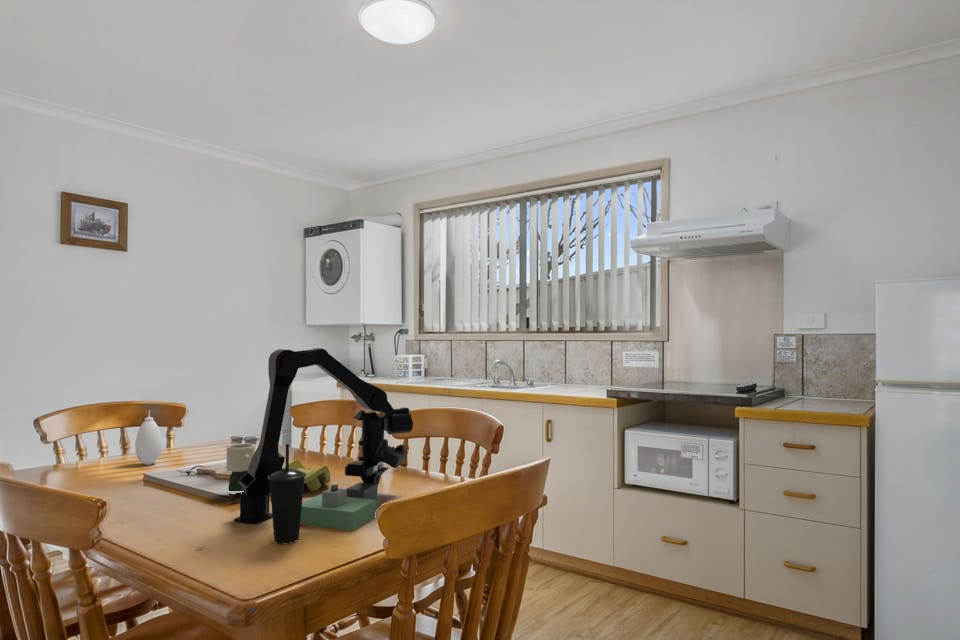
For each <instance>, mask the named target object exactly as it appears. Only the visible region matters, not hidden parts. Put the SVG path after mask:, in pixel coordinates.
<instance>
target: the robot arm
mask: <svg viewBox="0 0 960 640" xmlns="http://www.w3.org/2000/svg"><path fill="white" fill-rule="evenodd" d="M267 364H268V366H267V367H268V379H269V381H268V382H269V389H268V390H269V391H268V395H267V400H266V401H267V402H266V406H265V413H264V417H263V421H262V422H263V423H262V428H261V433H260V437H259V438H260V440H259V443H258V446H257V448H255V453H254V455H253V457H252V460H251V462H250V465H249V468H248V472H247V473H246V474H245V475H244V476H243V477H242V478H241V479H240V480H239V481H238V484H239V487H240V489H241V490H242V491H244V492H242V494H239V516H237V517H236V518H234V519H233V520H234V522H240V523H241V522H242V523H249V524H259V523H262V522H264V521H266V520H268V519H272V518H273V517H272V512H270V495H271V494H270V482H269V479H268V475H270V474H272V473H274V472H275V471H278V470H280V469H282V468H283V467H284V463H285V462H286V456H284V455H282V454H280V451H279V444H280V438H281V432H282V427H283V423H284V422H283V421H284V416H285V411H286V407H287V406H286V405H287V399H288V395H289V390H290V387H291V385H292V383H293V381H294V380H295V377H296V375H297V373H298V370H299V369H302V368H308V367H312V366H317V367H318V368H319V369H320V370H322V371H323V372H325V373H326V374H327V375H328V376H330V377H331V378H332V379H334V380H335V381H336V382H337V383H339V385H341V386H343V387H344V388H346V390H348V391H349V393H351V396H352V397H353V398H354V400H356V402H358V404H359V405H360V406H361V407H362V408H364V409H366V410H369V411H371V412H366V411H365V410H363V409H360V410H359V411H358V413H357V414H356V415H354V416H353V419H354V420H356V421H361V439H360V440H358V446H361V455H360V456H358V461H357V460H355V461H352V462H349V463H348V464H346V465H345V467H344V475H345V476H348V477H360V479H361V482H363V483H375V484H378V485H379V484H380V481H381V478H382V475H383V474H385V473H386V471H388V470H389V467H386V466H385V465H384V464H386V465H388V466H390V467H391V468H392V469H393V468H394V469H396V468H398V467H401V466H402V465H403V462H404V460H405V459H406V458H407V451H406V446H405V445H403V444H399V445H397V446H396V447H395V446H390V445H389V441H388V439H386V438H385V432H386V434H387V435H400V434H401V435H402V434H409V433H411V432H412V430H413V428H414V421H413V418H412V414H411V413H410V408H409V407H405V406H404V407H399V408H393V406H392V404H390V402H389V401H388V395H387V392H386V391H385V390H383V389H381V388H380V387H378V386H376V385H373V384H371V383H370V382H367V381H365V380H363V379H362V378H360V377H359V376H358V375H356V374H355V373H354V371H351V370H350V369H349V368H347V367H346V366H345V365H344V364H343V363H341V362H340V361H338V359H336V358H335V357H334V356H332V355H331V354H330V353H329V352H328V351H327V349H324V348H320V347H316V348H314V347H313V348H312V349H307V350H306V349H303V350H297V351H295V350H291V349H282V348H281V349H279V348H278V349H275V350H274V351H273V352H271V353H270V355H269V357H268V363H267ZM377 412H378V413H381V414H380V415H379V414H378V413H377Z"/></svg>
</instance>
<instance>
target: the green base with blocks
mask: <svg viewBox="0 0 960 640" xmlns="http://www.w3.org/2000/svg"><path fill="white" fill-rule="evenodd" d="M378 507H379V508H380V500H379V499H378V500H374V499H363V498H353V497H347V488H339V484H331V485H330V488H328V489H326V490H324V491H322V492H321V493H320V494H318V495H316V496H314V497H312V498H310V499H307V500H305V501H302V509H301V520H300V525H302V524H305V525H304V526H311V525H313V526H312V527H320V526H321V528H329V529H330V528H331V529H337V528H338V529H337V530H346V529H347V530H348V531H355V530H357V529H358V528H360V527H361V526H363V525H364V524H367V523H368V522H369V521H371V520H373V519H374V518H376V517H375V511H376V512H377V510H378V509H377V508H378ZM376 509H377V510H376ZM354 529H355V530H354Z"/></svg>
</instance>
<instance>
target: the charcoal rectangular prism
mask: <svg viewBox="0 0 960 640" xmlns="http://www.w3.org/2000/svg"><path fill="white" fill-rule="evenodd" d="M378 488H379V484H375V483H363V481H361V482H360V481H359V482H358V483H355V484H353V485H351V486H349V487H346V489H347V497H353V498H363V499H374V500H379V499H378Z"/></svg>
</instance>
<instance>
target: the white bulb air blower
mask: <svg viewBox="0 0 960 640" xmlns="http://www.w3.org/2000/svg"><path fill="white" fill-rule="evenodd" d="M134 448H135V449H134V450H135V454H136V457H137V459H138V461H139V462H142V464H144V465H145V466H150V465H151V466H152V465H153V464H154V463H155V462H156V461H158V459H160V456H161V454H162V452H163V451H162V450H163V438H162V433H161V430H160V427H159V425H158V424H157V423H156V421H155V420H154V417H152V416H151V410H150V409H149V410H148V416H147V417H145V418H144V421H143V422H142V423H141V425H140V427H139V429H138V431H137V433H136V437H135V443H134Z"/></svg>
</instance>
